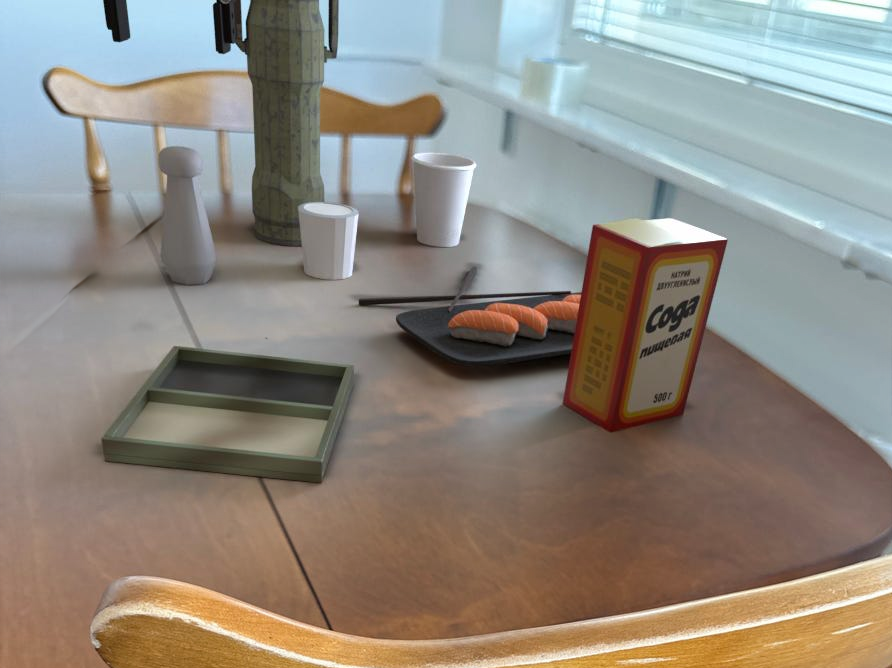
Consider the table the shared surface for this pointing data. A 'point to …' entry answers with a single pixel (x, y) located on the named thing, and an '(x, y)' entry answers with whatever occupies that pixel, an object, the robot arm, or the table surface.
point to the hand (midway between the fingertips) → (173, 46)
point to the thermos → (285, 108)
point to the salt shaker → (185, 219)
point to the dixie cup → (441, 196)
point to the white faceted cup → (328, 239)
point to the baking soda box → (641, 320)
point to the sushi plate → (492, 325)
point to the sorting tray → (234, 415)
